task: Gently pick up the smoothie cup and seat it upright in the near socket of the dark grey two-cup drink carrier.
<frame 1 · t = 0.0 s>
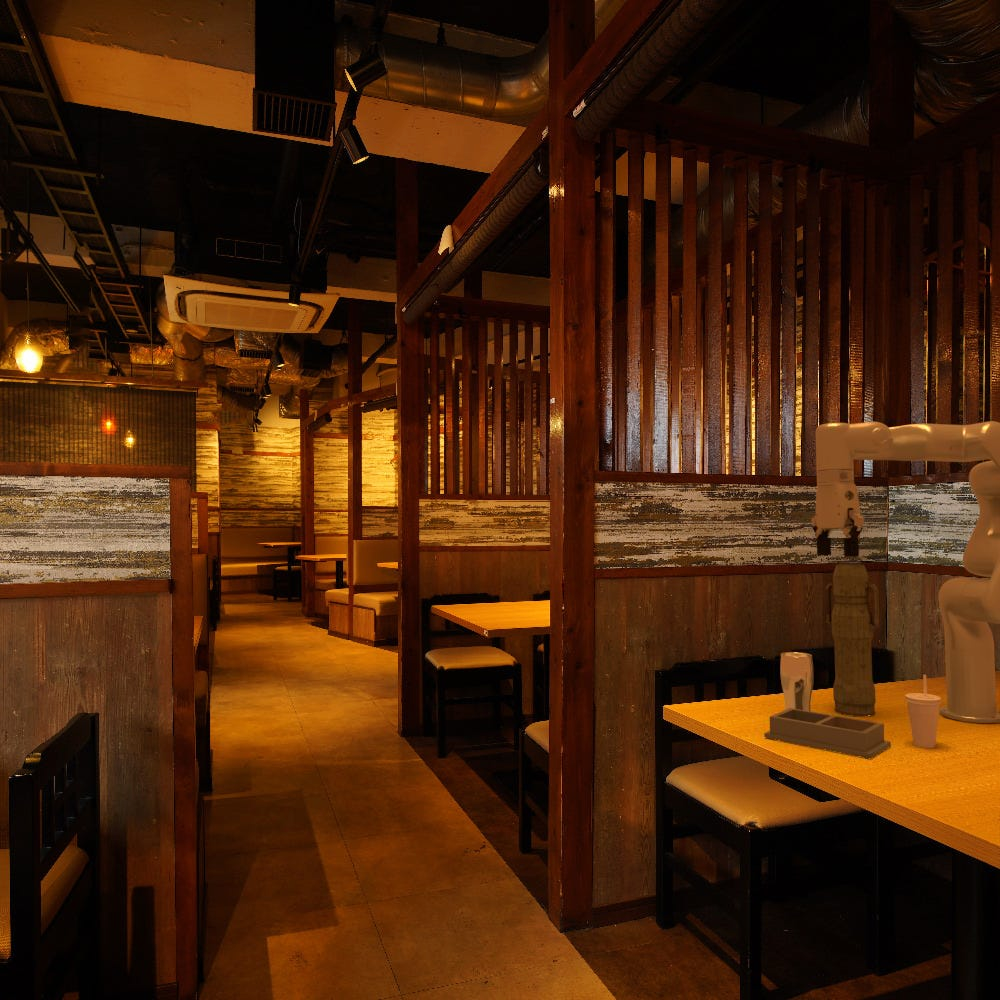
hand: (837, 555, 166), 37 cm above the table, tool pointing down, fingers open, 9 cm apart
drink carrier: (826, 742, 152), on the table
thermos: (854, 712, 176), on the table
smoothie: (924, 746, 149), on the table
beer glass: (798, 722, 168), on the table
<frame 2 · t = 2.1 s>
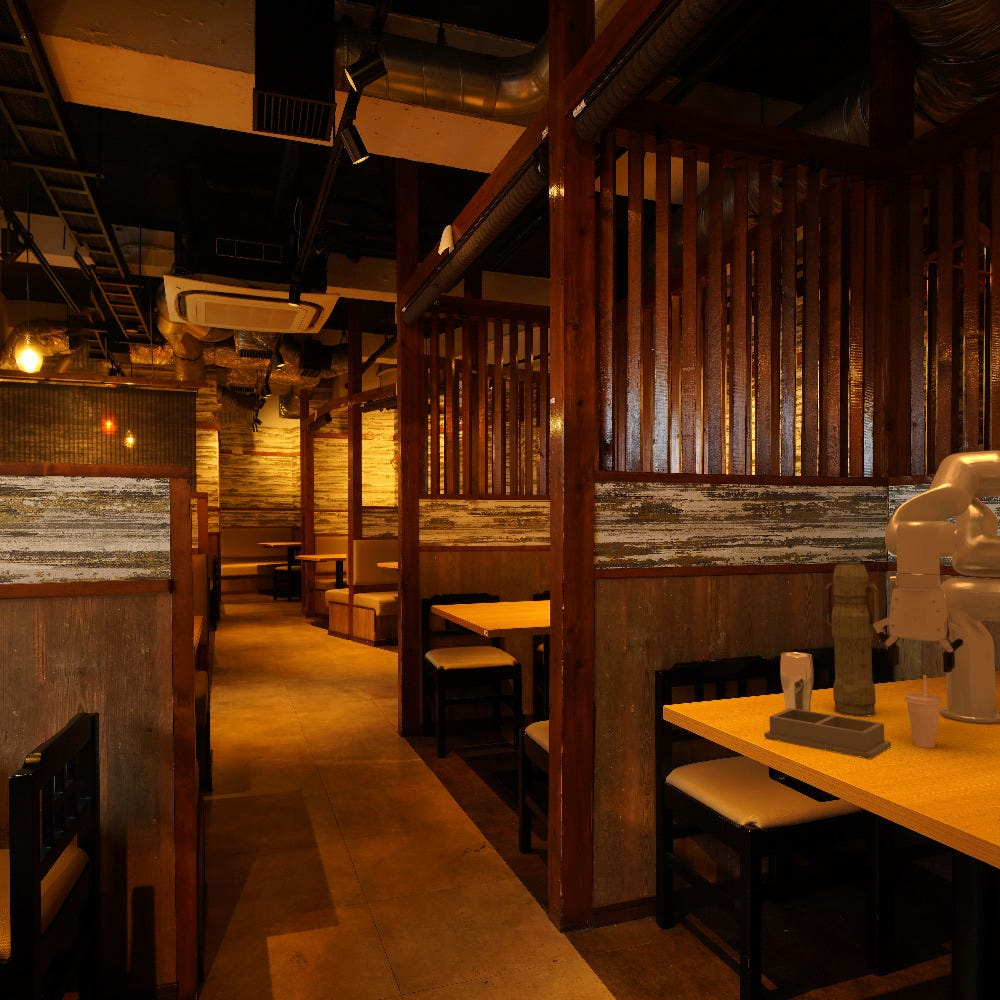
hand: (920, 668, 149), 15 cm above the table, tool pointing down, fingers open, 9 cm apart
nothing on the table moved.
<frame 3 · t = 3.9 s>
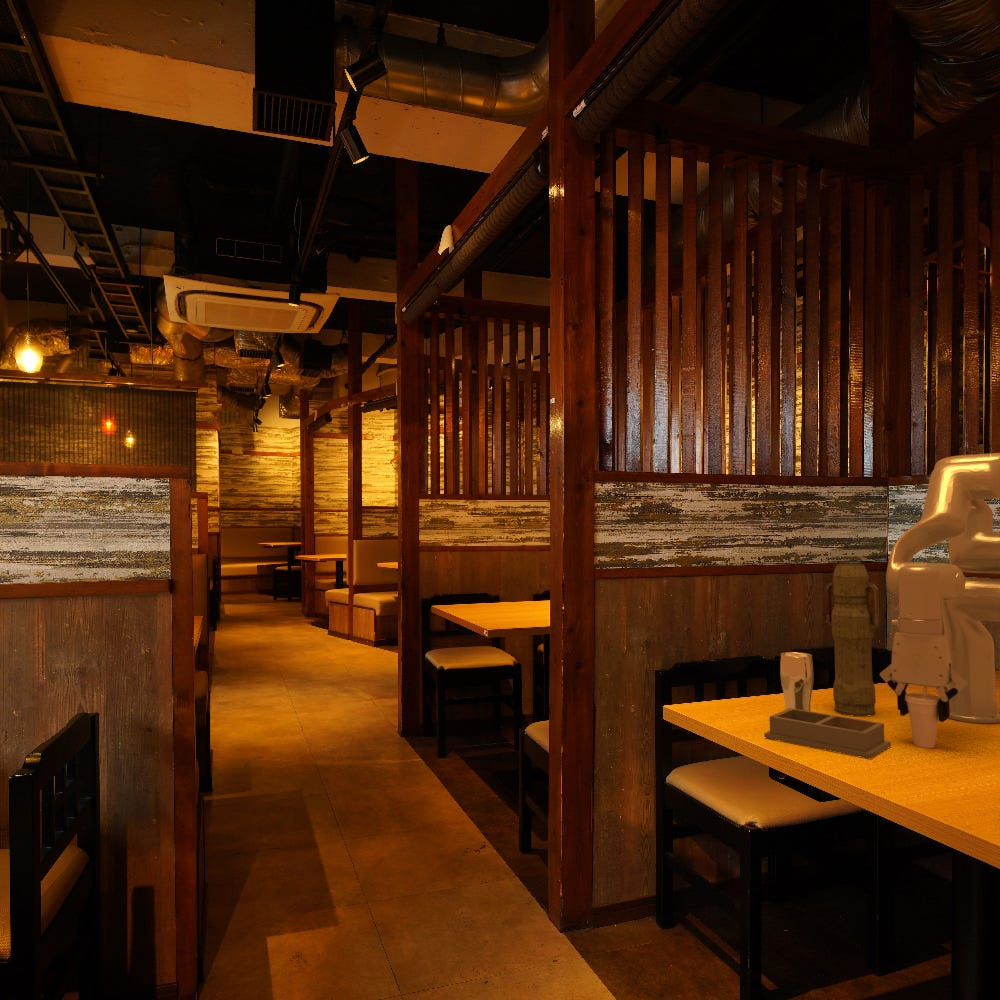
hand: (923, 716, 150), 6 cm above the table, tool pointing down, fingers closed on smoothie, 6 cm apart
smoothie: (924, 746, 149), on the table, touching gripper
everything else where it was.
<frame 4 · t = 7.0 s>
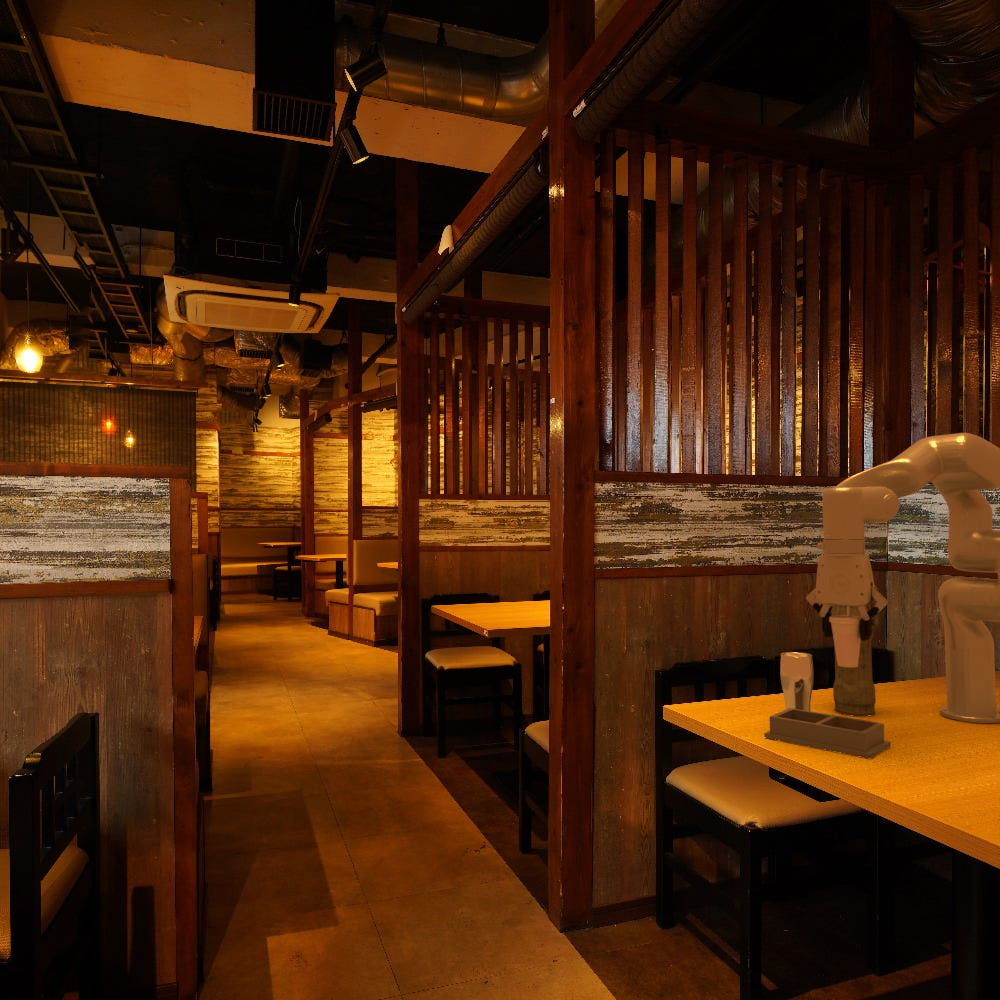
hand: (846, 637, 150), 22 cm above the table, tool pointing down, fingers closed on smoothie, 6 cm apart
smoothie: (847, 666, 150), point 16 cm above the table, touching gripper
everything else where it was.
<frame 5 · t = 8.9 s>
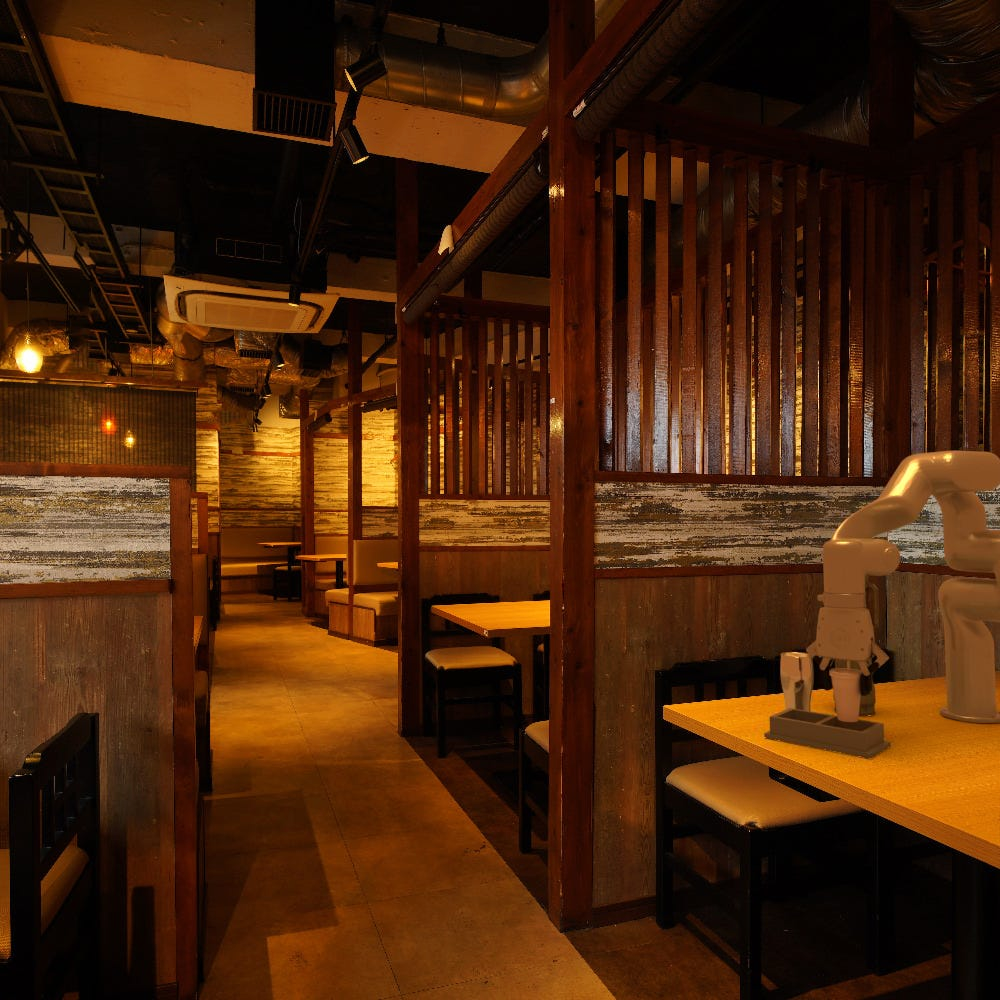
hand: (847, 691, 149), 11 cm above the table, tool pointing down, fingers closed on smoothie, 6 cm apart
smoothie: (847, 720, 149), point 5 cm above the table, touching gripper
everything else where it was.
when the fingers open (8 cm above the table, at t = 10.5 s): smoothie stays where it is, resting on drink carrier.
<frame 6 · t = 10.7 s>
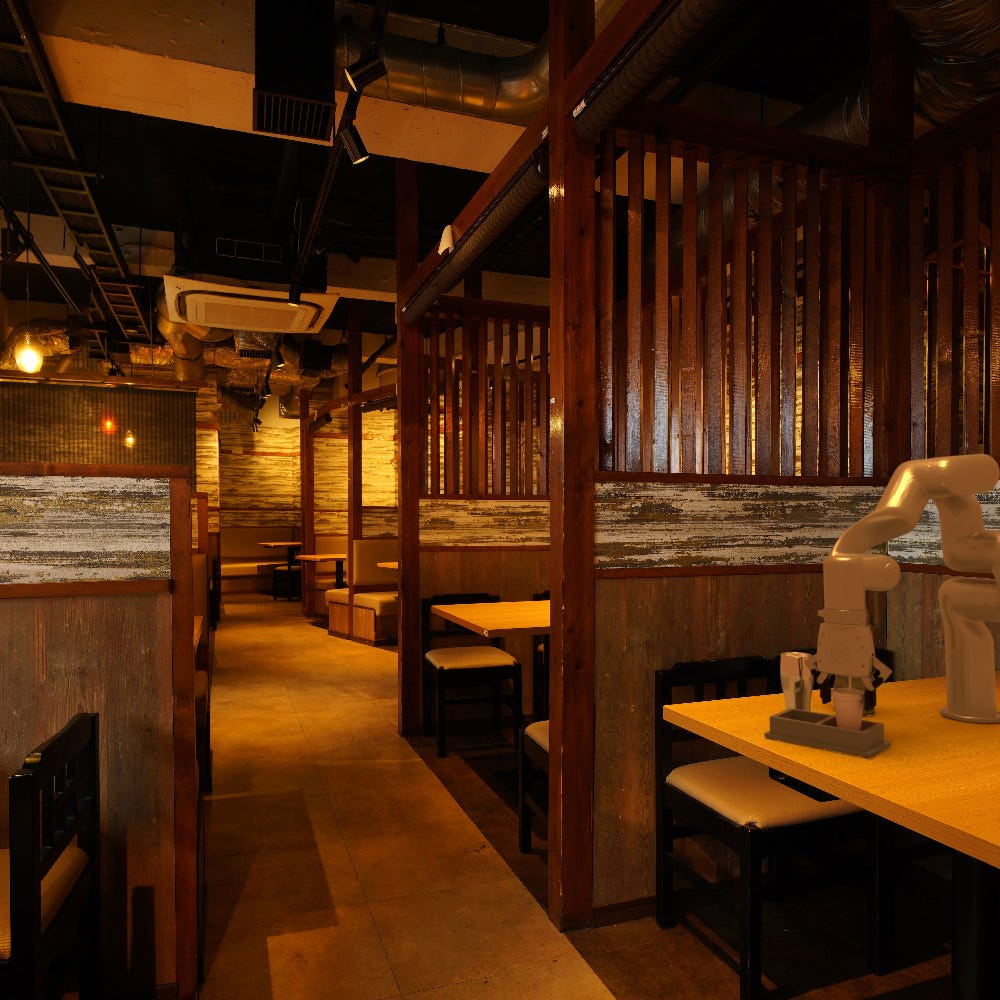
hand: (847, 705, 149), 8 cm above the table, tool pointing down, fingers open, 7 cm apart
smoothie: (849, 741, 149), point 1 cm above the table, touching drink carrier
everything else where it was.
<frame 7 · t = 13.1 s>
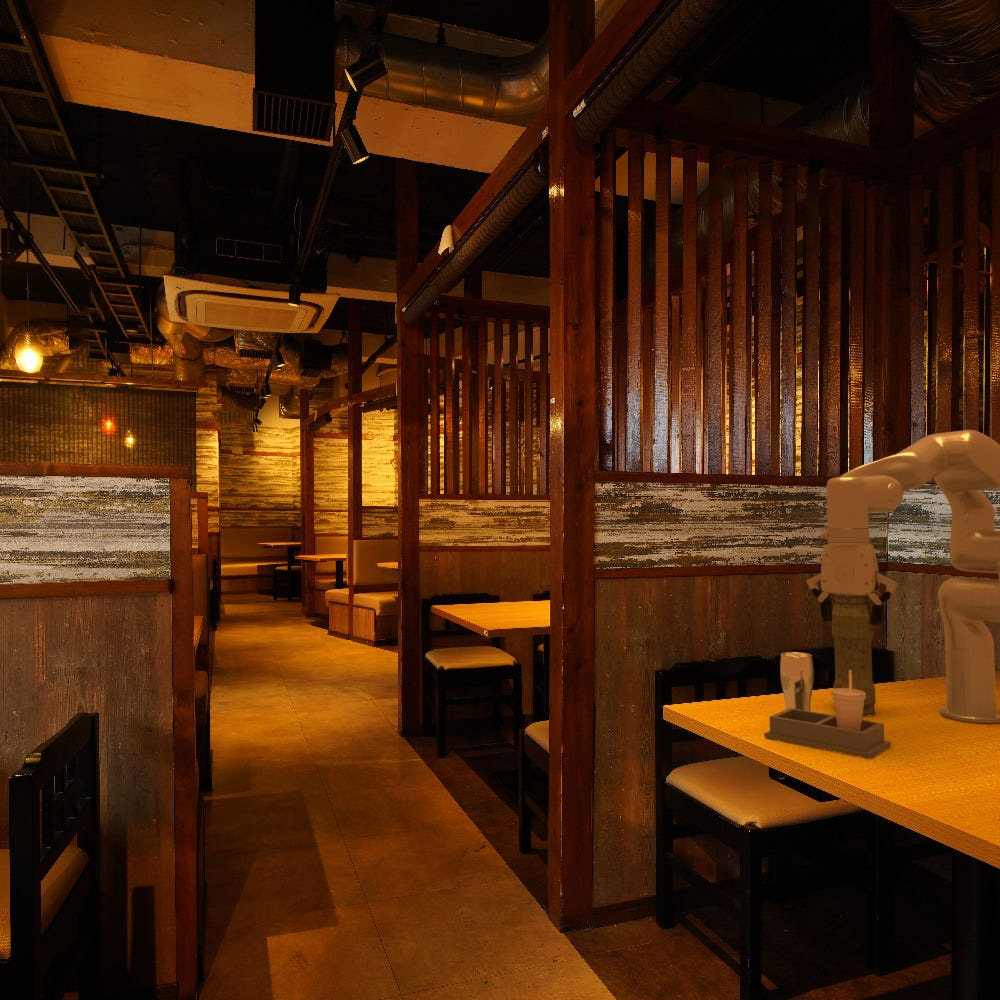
hand: (852, 622, 151), 24 cm above the table, tool pointing down, fingers open, 9 cm apart
nothing on the table moved.
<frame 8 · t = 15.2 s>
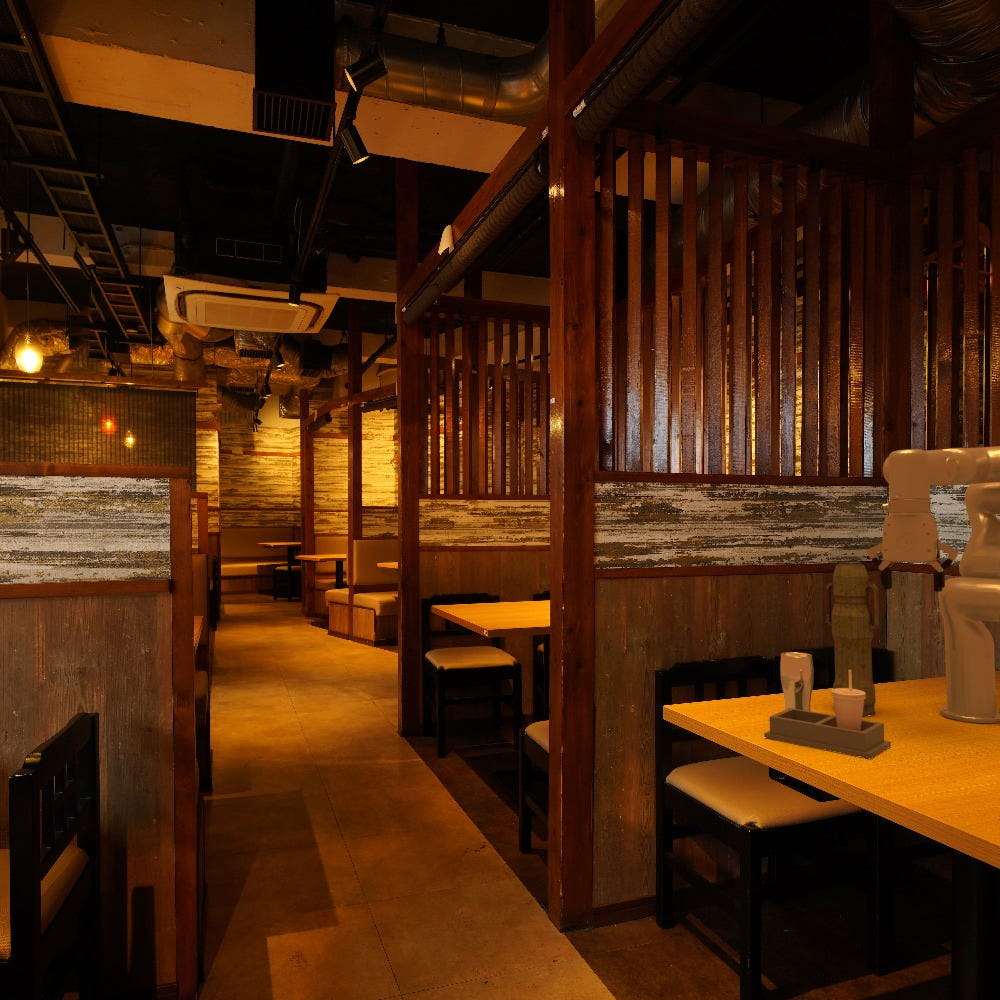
hand: (912, 590, 157), 30 cm above the table, tool pointing down, fingers open, 9 cm apart
nothing on the table moved.
at the end: smoothie 0.2 cm from the target spot on the drink carrier, point 1.0 cm above the drink carrier's base; smoothie tilted 0°; the gripper is holding nothing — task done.
